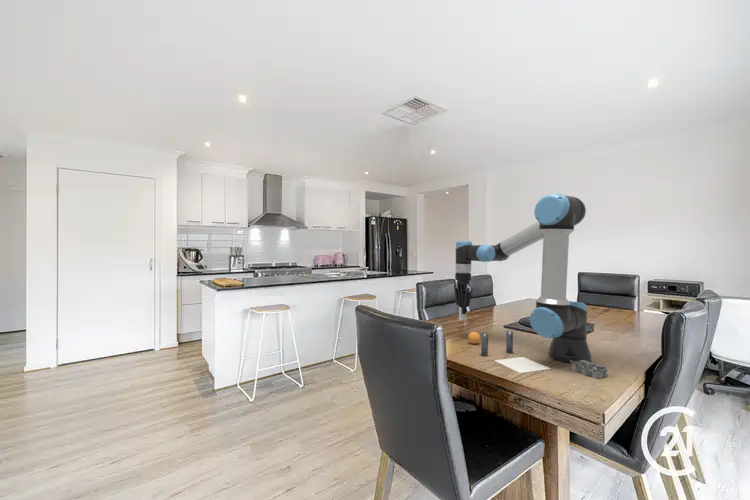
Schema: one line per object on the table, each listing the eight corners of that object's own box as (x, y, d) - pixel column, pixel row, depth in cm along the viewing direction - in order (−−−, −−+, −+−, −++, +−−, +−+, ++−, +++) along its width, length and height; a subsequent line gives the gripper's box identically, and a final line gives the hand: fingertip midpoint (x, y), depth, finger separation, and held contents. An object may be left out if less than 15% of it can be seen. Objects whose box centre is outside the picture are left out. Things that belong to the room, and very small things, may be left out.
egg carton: (567, 370, 124) (567, 359, 124) (580, 367, 127) (580, 356, 127) (598, 380, 114) (598, 368, 114) (610, 376, 118) (611, 365, 118)
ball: (483, 344, 155) (483, 332, 155) (472, 345, 153) (472, 333, 153) (475, 341, 160) (475, 330, 160) (465, 342, 159) (465, 330, 159)
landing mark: (550, 369, 124) (550, 368, 124) (520, 373, 120) (520, 372, 120) (522, 357, 137) (522, 356, 137) (494, 360, 133) (494, 360, 133)
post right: (514, 353, 143) (514, 331, 143) (509, 353, 142) (509, 332, 142) (509, 351, 145) (510, 330, 145) (504, 351, 145) (505, 330, 145)
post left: (489, 356, 139) (489, 334, 139) (483, 356, 138) (483, 334, 138) (485, 354, 141) (485, 332, 141) (479, 354, 141) (480, 333, 141)
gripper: (449, 271, 171) (448, 317, 171) (464, 273, 158) (463, 323, 159) (462, 271, 173) (461, 317, 174) (477, 273, 161) (476, 322, 161)
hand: (462, 320), depth 166 cm, fingers closed
